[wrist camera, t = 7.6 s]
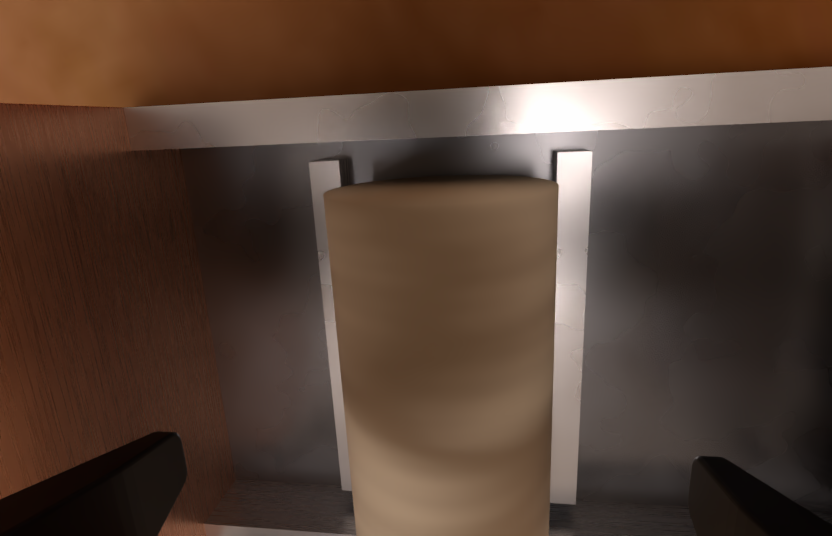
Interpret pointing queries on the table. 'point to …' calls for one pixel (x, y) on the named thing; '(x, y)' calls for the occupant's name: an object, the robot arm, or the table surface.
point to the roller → (446, 351)
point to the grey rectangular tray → (314, 306)
